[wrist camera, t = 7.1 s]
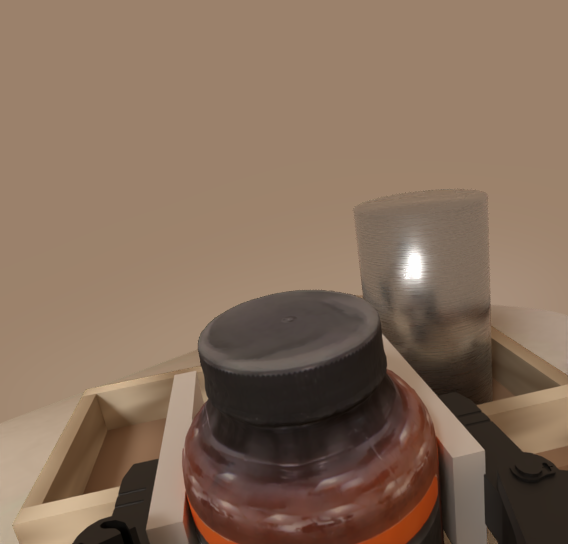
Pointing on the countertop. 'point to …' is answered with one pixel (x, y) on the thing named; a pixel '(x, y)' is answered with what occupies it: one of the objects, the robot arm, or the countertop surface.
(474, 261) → the billet
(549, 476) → the robot arm
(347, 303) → the supplement bottle
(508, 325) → the countertop surface
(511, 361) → the wooden divided tray
